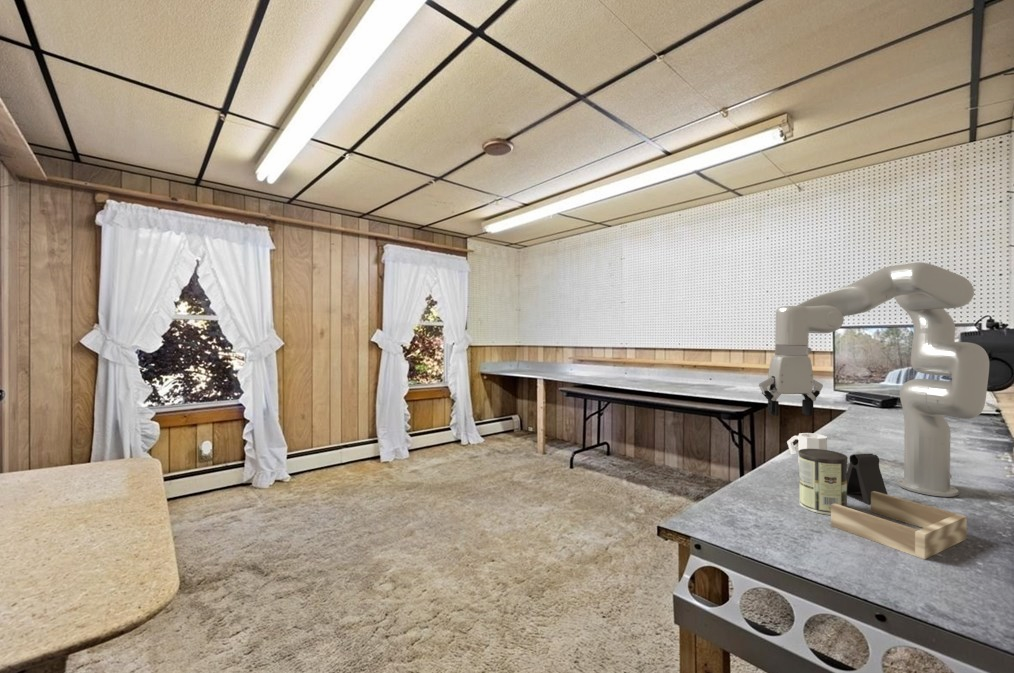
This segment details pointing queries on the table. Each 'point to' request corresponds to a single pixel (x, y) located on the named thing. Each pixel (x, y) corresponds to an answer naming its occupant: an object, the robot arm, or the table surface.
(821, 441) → the mug
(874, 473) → the phone stand
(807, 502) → the coffee can
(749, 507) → the table surface
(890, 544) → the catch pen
